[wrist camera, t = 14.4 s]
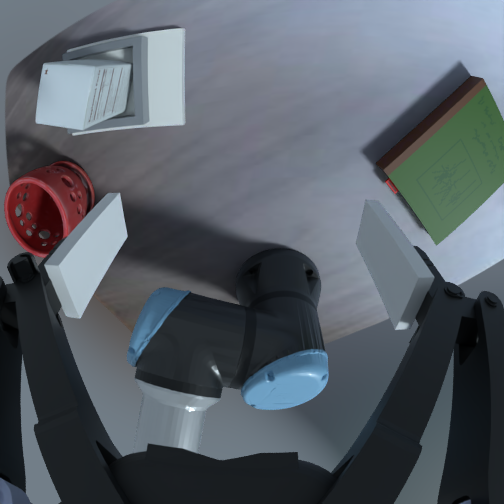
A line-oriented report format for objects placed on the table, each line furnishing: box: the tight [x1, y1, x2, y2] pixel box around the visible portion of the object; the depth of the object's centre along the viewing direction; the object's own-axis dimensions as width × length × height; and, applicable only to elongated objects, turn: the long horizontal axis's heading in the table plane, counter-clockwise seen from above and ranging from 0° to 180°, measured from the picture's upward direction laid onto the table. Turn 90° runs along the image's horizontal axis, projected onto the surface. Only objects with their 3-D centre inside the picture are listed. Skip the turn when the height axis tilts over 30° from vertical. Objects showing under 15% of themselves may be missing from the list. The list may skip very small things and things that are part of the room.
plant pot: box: [4, 161, 95, 258], centre depth 39 cm, size 13×13×12 cm
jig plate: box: [63, 28, 185, 135], centre depth 34 cm, size 14×18×4 cm
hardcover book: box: [376, 76, 504, 246], centre depth 40 cm, size 25×19×4 cm
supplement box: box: [36, 59, 133, 130], centre depth 29 cm, size 7×7×13 cm
